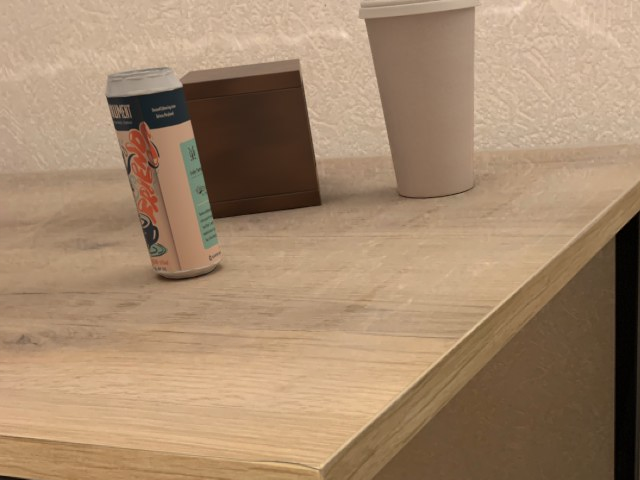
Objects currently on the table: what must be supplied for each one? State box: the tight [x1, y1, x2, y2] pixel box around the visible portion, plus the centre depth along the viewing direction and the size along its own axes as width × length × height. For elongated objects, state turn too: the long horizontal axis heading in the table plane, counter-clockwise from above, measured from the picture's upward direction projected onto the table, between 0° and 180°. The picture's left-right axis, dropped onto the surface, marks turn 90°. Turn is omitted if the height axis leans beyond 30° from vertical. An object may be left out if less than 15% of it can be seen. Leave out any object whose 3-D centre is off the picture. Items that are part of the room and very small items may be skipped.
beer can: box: [104, 66, 223, 279], centre depth 59 cm, size 5×5×12 cm
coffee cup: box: [358, 0, 481, 199], centre depth 73 cm, size 10×10×15 cm
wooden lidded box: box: [178, 58, 322, 219], centre depth 79 cm, size 10×13×10 cm
